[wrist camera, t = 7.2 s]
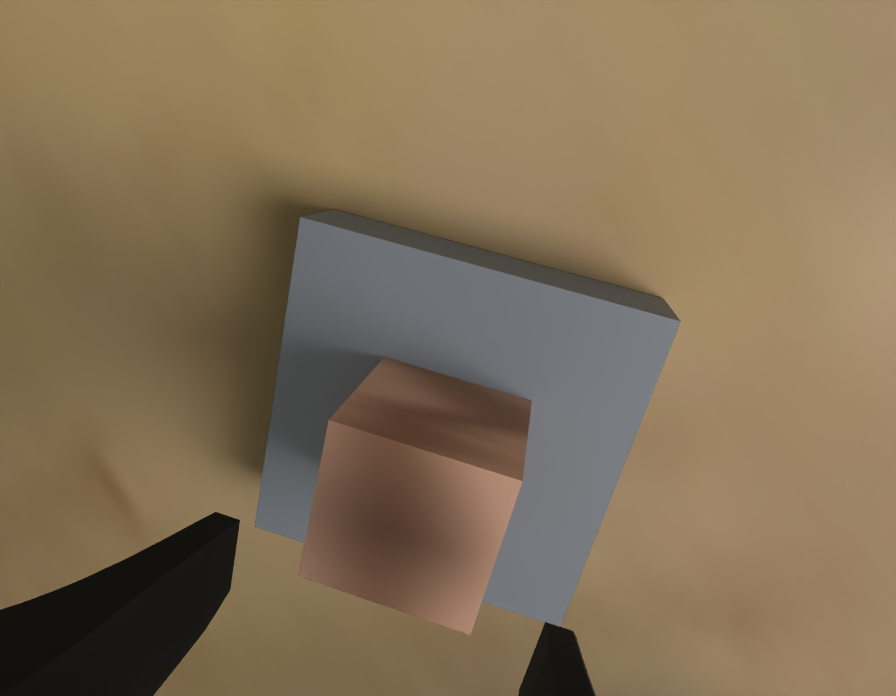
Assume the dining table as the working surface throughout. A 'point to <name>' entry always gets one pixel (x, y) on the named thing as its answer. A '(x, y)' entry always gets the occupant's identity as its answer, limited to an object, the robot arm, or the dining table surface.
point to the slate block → (469, 378)
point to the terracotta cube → (417, 492)
